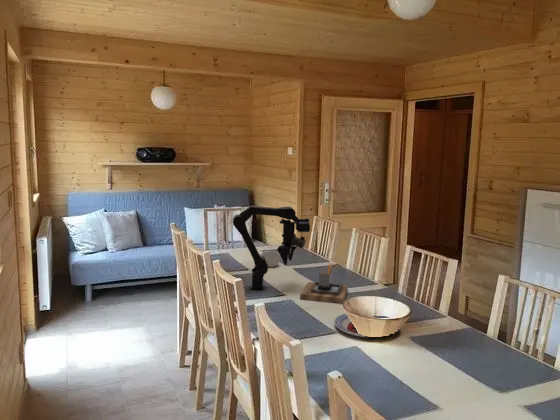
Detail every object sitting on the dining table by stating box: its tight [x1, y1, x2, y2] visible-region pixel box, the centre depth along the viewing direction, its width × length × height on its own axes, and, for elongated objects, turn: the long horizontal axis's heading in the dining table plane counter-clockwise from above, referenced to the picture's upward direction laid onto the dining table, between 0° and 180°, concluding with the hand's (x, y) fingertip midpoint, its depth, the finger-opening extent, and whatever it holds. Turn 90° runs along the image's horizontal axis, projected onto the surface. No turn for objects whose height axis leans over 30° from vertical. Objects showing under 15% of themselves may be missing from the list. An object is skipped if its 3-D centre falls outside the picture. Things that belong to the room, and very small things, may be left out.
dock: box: [299, 281, 349, 304], centre depth 231 cm, size 20×20×4 cm
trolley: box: [318, 263, 333, 291], centre depth 230 cm, size 6×6×12 cm
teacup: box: [258, 250, 281, 268], centre depth 281 cm, size 14×11×8 cm
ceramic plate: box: [334, 313, 390, 338], centre depth 191 cm, size 26×26×3 cm
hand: (288, 262), depth 239 cm, fingers open, 9 cm apart
